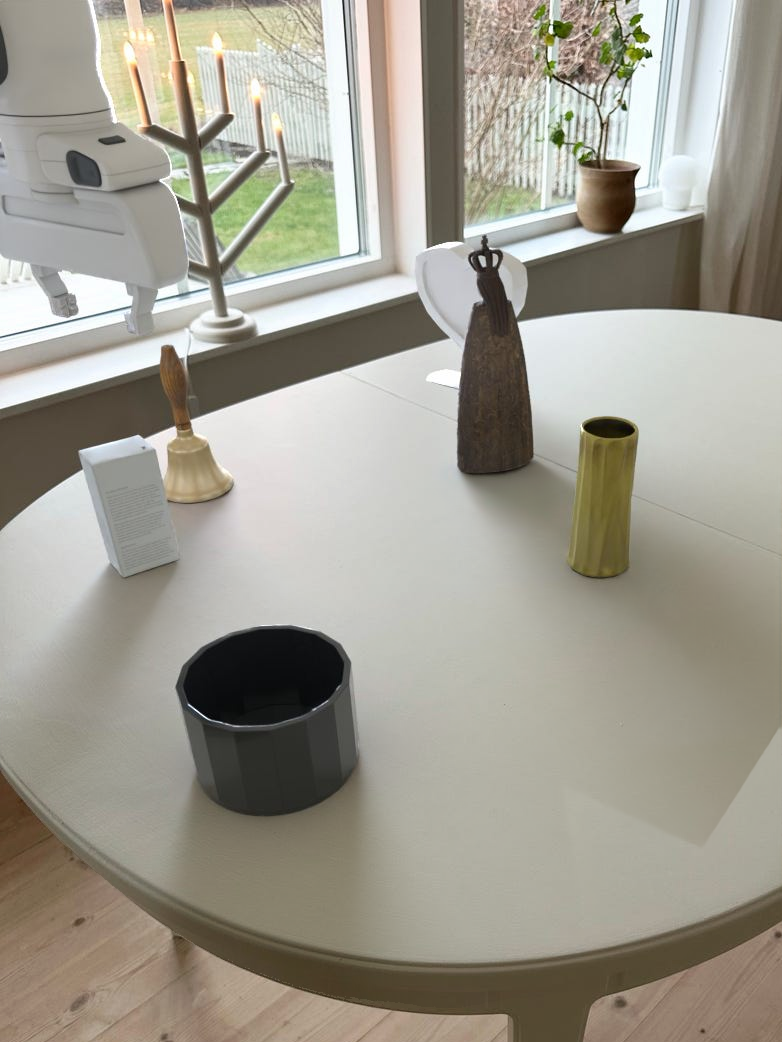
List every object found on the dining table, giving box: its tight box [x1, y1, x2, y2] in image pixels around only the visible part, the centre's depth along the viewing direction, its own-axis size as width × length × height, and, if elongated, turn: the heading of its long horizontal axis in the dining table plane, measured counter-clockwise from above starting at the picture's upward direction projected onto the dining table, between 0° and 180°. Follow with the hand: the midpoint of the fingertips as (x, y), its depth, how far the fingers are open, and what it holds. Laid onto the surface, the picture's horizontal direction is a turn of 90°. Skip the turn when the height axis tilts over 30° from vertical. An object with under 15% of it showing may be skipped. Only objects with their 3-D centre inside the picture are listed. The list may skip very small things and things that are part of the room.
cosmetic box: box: [77, 434, 181, 579], centre depth 91 cm, size 6×4×12 cm
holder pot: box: [174, 624, 360, 817], centre depth 69 cm, size 12×12×8 cm
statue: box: [456, 234, 535, 475], centre depth 105 cm, size 9×8×25 cm
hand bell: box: [159, 343, 235, 504], centre depth 103 cm, size 8×8×16 cm
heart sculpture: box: [414, 241, 529, 390], centre depth 128 cm, size 16×5×18 cm, turn 56°
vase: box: [566, 415, 640, 579], centre depth 90 cm, size 6×6×14 cm
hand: (103, 324), depth 84 cm, fingers open, 8 cm apart
